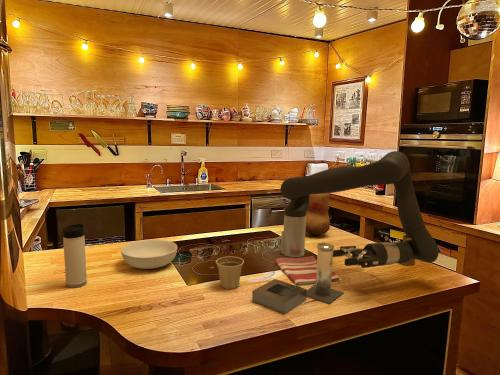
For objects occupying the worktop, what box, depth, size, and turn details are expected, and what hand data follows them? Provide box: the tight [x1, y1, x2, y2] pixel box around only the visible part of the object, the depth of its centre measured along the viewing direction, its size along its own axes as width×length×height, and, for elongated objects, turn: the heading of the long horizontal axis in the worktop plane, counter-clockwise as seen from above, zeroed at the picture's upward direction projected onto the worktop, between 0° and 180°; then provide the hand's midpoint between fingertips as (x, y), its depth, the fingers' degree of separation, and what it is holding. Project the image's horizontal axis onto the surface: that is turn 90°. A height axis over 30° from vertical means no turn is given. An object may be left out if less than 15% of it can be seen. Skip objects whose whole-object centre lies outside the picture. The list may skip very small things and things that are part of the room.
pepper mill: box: [399, 234, 416, 266], centre depth 146 cm, size 7×6×18 cm
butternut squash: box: [305, 193, 331, 237], centre depth 182 cm, size 14×13×25 cm
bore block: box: [251, 278, 308, 315], centre depth 112 cm, size 12×12×4 cm
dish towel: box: [274, 255, 340, 287], centre depth 136 cm, size 17×23×3 cm
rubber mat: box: [306, 284, 344, 305], centre depth 117 cm, size 10×10×1 cm
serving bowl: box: [120, 239, 178, 270], centre depth 139 cm, size 21×21×7 cm
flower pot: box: [215, 255, 245, 290], centre depth 122 cm, size 9×9×9 cm
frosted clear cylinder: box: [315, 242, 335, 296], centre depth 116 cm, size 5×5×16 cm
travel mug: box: [62, 223, 88, 289], centre depth 120 cm, size 6×7×20 cm
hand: (338, 257), depth 116 cm, fingers open, 8 cm apart
